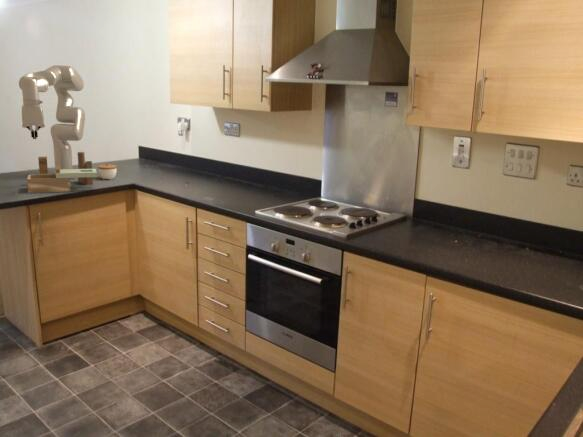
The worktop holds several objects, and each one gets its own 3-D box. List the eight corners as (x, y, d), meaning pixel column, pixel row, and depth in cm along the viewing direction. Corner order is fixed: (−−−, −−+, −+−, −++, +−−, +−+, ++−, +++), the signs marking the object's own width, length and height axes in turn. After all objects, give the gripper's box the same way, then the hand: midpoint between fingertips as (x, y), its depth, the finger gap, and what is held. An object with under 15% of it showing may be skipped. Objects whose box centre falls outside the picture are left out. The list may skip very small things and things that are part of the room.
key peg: (40, 185, 292) (38, 156, 288) (48, 185, 294) (46, 156, 289) (40, 187, 288) (38, 157, 284) (48, 186, 290) (46, 157, 286)
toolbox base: (29, 189, 281) (28, 174, 279) (70, 188, 289) (69, 173, 287) (28, 194, 270) (27, 179, 268) (70, 192, 278) (69, 177, 276)
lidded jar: (102, 181, 311) (101, 165, 308) (95, 178, 318) (94, 162, 316) (120, 179, 318) (119, 163, 315) (112, 176, 325) (112, 161, 323)
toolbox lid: (56, 173, 284) (55, 165, 283) (95, 172, 292) (95, 165, 291) (56, 178, 274) (55, 169, 272) (97, 177, 281) (96, 168, 280)
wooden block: (87, 186, 294) (85, 154, 289) (77, 183, 301) (76, 152, 296) (93, 186, 297) (91, 154, 292) (84, 182, 304) (82, 151, 299)
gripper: (47, 102, 278) (50, 137, 283) (15, 102, 272) (19, 138, 277) (47, 103, 272) (50, 139, 277) (14, 103, 265) (18, 140, 271)
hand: (34, 138), depth 277 cm, fingers closed
